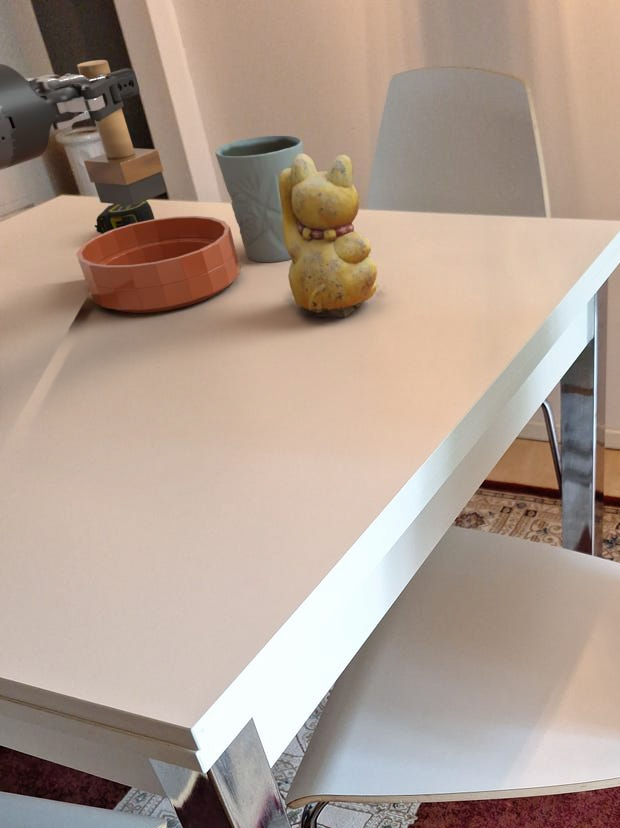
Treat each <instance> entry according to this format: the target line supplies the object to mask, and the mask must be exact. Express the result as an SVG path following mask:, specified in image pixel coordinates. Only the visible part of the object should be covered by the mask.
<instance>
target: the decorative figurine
mask: <svg viewBox="0 0 620 828" xmlns="http://www.w3.org/2000/svg"><path fill="white" fill-rule="evenodd" d="M353 165H354V164H353V161H352V159H351V158H350V156H348V155H347V154H340V155H338V156H336V157H335V158H334V159H333V161H332V162H331V163H330V165H329V168H328V170H327V171H318V170H317V168H316V165H315V162H314V161H313V159H312V158H311V157H310V156H309V155H308V154H305V153H304V152H303V153H301V154H298V155H297V156H295V158H294V159H293V163H292V166H291V168H287V169H284V170H283V171H282V172H281V173H280V175H279V182H278V183H279V192H280V199H281V207H282V226H283V236H284V241H285V245H286V249H287V251H288V253H289V255H290V257H291V259H290V260H291V263H290V264H289V268H288V275H287V276H288V282H289V287H290V290H291V293H292V296H293V298H294V302H295V304H296V305H297V306H298V307H300V308H303V309H304V316H307V317H308V316H309V317H310V316H314V317H315V316H317V317H331V318H347V316H349V315H350V314H351V313H352V312H353V311H354V310H355V309H359V308H360V307H361V305H363V304H364V302H366V301H368V300H370V299H371V298H372V297H373V296H374V294H375V293H376V291H377V287H378V285H377V283H376V280H377V276H378V268H377V264H376V262H375V261H374V259H373V258H372V257H371V256H369V255H370V253H371V251H372V247H371V243H370V240H369V239H368V238H366V237H365V236H364V235H363V236H362V235H360V233H357V232H356V231H355V230H354V229H355V226H354V224H353V222H354V220H355V219H356V218H357V216H358V214H359V213H358V212H359V208H360V195H359V194H358V192H357V189H356V187H355V186H354V182H353V181H354V166H353Z"/></svg>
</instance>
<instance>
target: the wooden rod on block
mask: <svg viewBox="0 0 620 828" xmlns="http://www.w3.org/2000/svg"><path fill="white" fill-rule="evenodd" d="M76 66H77V69H78V73H79V74H80V75H83V76H85V77H86V78H90V77H94V76H97V74H102V75H105V74H108V73H111V68H110V65H109V62H108V60H106V59H97V60H90V61H85V62H81V63H79V64H77V65H76ZM122 108H123V107H122ZM122 108H121V109H119V110H117V111H115V112H114V113H112V114H110V115H109V116H107V117H106V118H104V119H101V121H97V122H96V121H94V123H95V126H96V129H97V132H98V135H99V138H100V141H101V145H102V148H103V151H104V153H101V154H100V155H96V156H94V157H91V158H88V159H86V160H84V161H83V163H84V166H85V170H86V172H87V175H88V178H89V182H90V183H93V184H94V186H95V190H96V192H97V196H98V199H99V201H100V203H102V204H110V205H113V204H120V205H131V206H134V205H137V204H139V203H141V202H144V201H148V200H151V199H153V198H156V197H158V196H160V195H163V194H165V193H167V189H166V185H165V182H164V179H163V175H162V172H164V168H163V165H162V160H161V158H160V153H159V150H158V149H155V148H135V147H134V145H133V142H132V139H131V136H130V132H129V129H128V125H127V122H126V119H125V116H124V115H125V114H124V112H123V109H122Z"/></svg>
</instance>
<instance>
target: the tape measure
mask: <svg viewBox="0 0 620 828" xmlns="http://www.w3.org/2000/svg"><path fill="white" fill-rule="evenodd" d="M154 219H156V218H155V215H154V212H153V208H152V206H151V204H149V201H148V200H146V201H144V202H141V203H139V204H137V205H134V206H131V205H120V204H110V205H107V207H106V208H105V209H104V210H103V211H102V212H100V214H99V215H98V216H97V217H96V220H95V221H96V224H94V228H96V229H95V230H96V233H99V234H100V235H101V234H103V233H106V232H108V231H110V230H113V229H117V228H120V227H123V226H126V225H130V224H134V223H138V222H143V221H148V220H154Z"/></svg>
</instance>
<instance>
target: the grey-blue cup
mask: <svg viewBox="0 0 620 828" xmlns="http://www.w3.org/2000/svg"><path fill="white" fill-rule="evenodd" d="M214 153H215V157H216V160H217V163H218V166H219V168H220V173H221V175H222V179H223V183H224V184H225V187H226V190H227V193H228V195H229V197H230V200H231V205H230V206H231V207H232V211H233V214H234V218H235V221H236V224H237V225H238V228H239V234H240V237H241V241H242V244H243V248H244V252H245V255H246V257H247V259H249V260H251V261H254V262H258V263H277V262H283V261H288V260H289V261H290V260H292V259H291V257H290V255H289V253H288V251H287V249H286V245H285V241H284V236H283V226H282V207H281V199H280V192H279V183H278V182H279V175H280V173H281V172H282V171H283V170H284V169H287V168H291V166H292V163H293V159H294V158H295V156H297V155H298V154H301V153H303V154H304V145H303V141H302V139H301V138H300V137H298V136H292V135H263V136H257V137H256V136H255V137H249V138H244V139H243V138H242V139H239V140H235V141H233V142H229V143H226V144H223V145H221V146H219V147H218V148H217V149H216V150H215V152H214Z"/></svg>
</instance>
